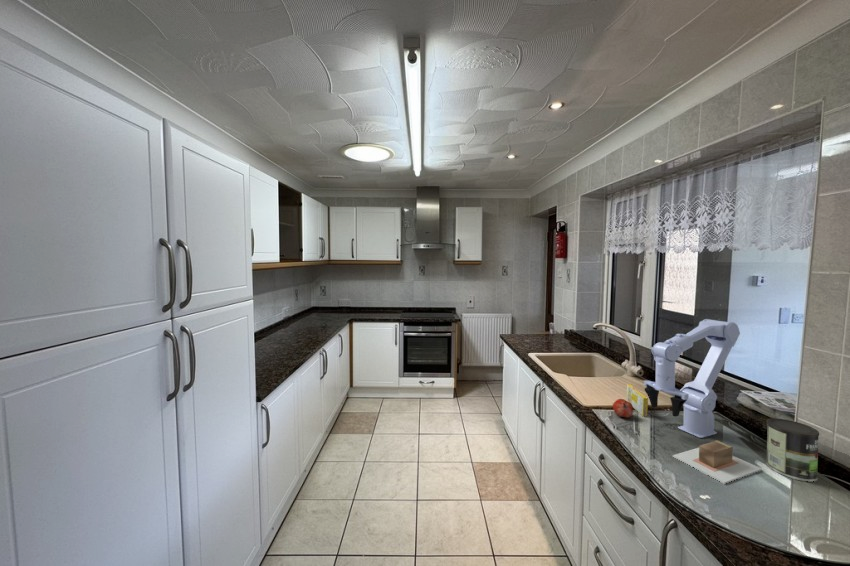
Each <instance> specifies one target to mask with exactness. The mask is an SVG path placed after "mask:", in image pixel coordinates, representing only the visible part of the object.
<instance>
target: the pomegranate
mask: <svg viewBox="0 0 850 566" xmlns="http://www.w3.org/2000/svg"><path fill="white" fill-rule="evenodd" d="M612 409H613V411H614V413H615V414H616V415H617V416H619V417H620V418H626V419H629V418H631V417H632V416H633V413H634V408H633V406H632V404H631V403H629V402H627V401H626V399H623V398H619V399H616V400H615V401H614V402H613V403H612Z"/></svg>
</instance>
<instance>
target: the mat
mask: <svg viewBox="0 0 850 566" xmlns="http://www.w3.org/2000/svg"><path fill="white" fill-rule="evenodd" d="M673 457H674V459H675V458H676V460H677V459H678V460H677V461H679V460H680V461H679V462H681V461H682V462H681V463H683V462H684V463H683V464H685V463H686V464H685V465H687V464H688V465H687V466H689V465H690V466H691V468H692V467H694V468H695V469H694V468H693V469H694V470H696V469H697V470H696V471H698V470H699V471H698V472H699V473H702V474H704V475H706V476H707V475H709V476H710V477H709V476H708V477H709V478H711V477H712V478H711V479H713V478H714V480H715V479H716V480H715V481H717V480H718V481H717V482H719V481H720V482H719V483H721V484H723V485H726V483H727V484H729V482H730V483H732V482H735V481H737V480H736V479H738V480H741V479H743V478H745V477H744V476H746V477H748V476H751V475H754V474H756V473H755V472H757V473H759V472H762V471H761V470H763V468H761V467H760V466H757V465H755V464H753V463H750V462H748V461H745V460H744V459H741V458H739V457H737V456H736V455H735V456H734V455H733V454H732V462H731V463H728V464H725V465H722V466H719V467H716V468H712V467H710V466H708V465H706V464H704V463H702V462H700V461H699V447H696V448H692V449H689V450H685V451H683V452H679V453H675V454H672V458H673ZM690 466H689V467H690ZM758 471H759V472H758ZM753 473H754V474H753ZM750 474H751V475H750ZM747 475H748V476H747ZM742 477H743V478H742ZM734 480H735V481H734ZM731 481H732V482H731Z"/></svg>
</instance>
